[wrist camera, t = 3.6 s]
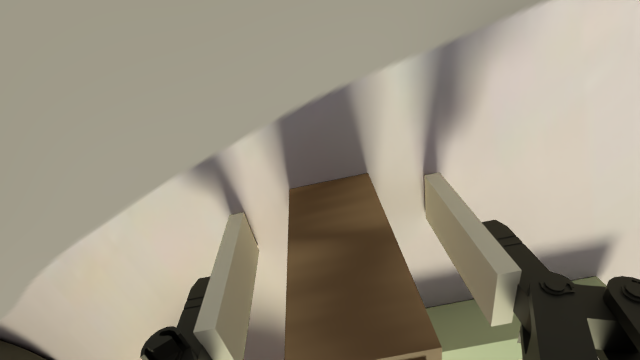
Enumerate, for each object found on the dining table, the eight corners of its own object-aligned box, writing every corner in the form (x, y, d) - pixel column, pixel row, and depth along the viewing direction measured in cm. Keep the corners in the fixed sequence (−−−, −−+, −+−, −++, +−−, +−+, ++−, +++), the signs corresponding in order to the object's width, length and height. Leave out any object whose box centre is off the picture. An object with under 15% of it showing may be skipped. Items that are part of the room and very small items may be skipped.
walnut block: (306, 247, 18) (316, 448, 10) (289, 189, 16) (284, 382, 8) (376, 233, 17) (443, 426, 10) (368, 173, 15) (444, 353, 8)
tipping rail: (335, 346, 22) (340, 391, 20) (329, 326, 21) (334, 371, 19) (587, 299, 22) (627, 340, 19) (596, 276, 21) (639, 316, 18)
